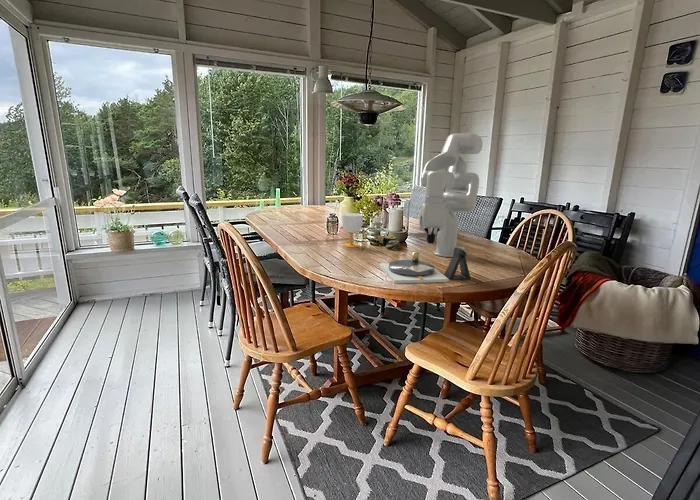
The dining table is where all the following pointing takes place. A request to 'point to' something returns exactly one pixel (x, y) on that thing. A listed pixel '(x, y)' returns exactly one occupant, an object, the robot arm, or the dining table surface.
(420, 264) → the disc
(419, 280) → the base
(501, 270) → the dining table surface
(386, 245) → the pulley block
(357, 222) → the cup
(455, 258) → the dark grey a-frame stand
